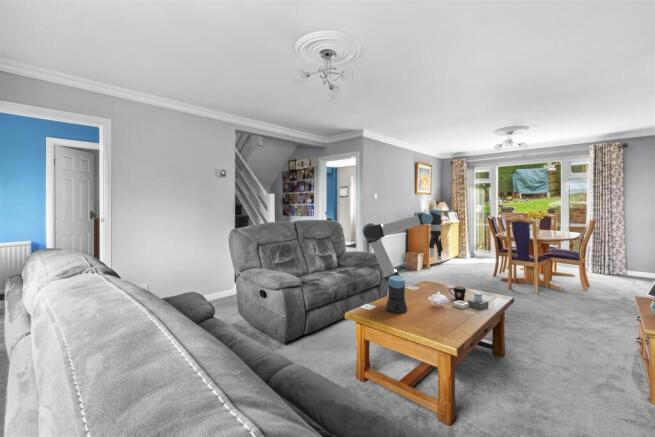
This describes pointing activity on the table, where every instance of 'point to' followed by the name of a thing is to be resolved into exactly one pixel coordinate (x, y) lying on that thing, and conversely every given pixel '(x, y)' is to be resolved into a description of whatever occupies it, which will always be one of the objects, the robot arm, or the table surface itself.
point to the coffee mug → (459, 292)
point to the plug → (477, 297)
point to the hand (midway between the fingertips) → (435, 258)
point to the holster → (460, 304)
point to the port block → (478, 304)
